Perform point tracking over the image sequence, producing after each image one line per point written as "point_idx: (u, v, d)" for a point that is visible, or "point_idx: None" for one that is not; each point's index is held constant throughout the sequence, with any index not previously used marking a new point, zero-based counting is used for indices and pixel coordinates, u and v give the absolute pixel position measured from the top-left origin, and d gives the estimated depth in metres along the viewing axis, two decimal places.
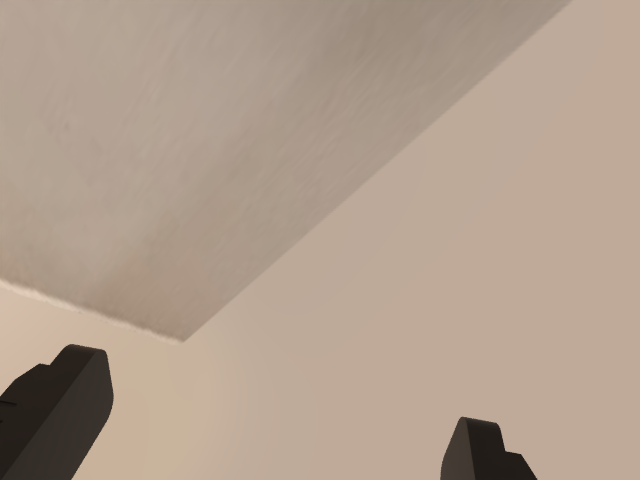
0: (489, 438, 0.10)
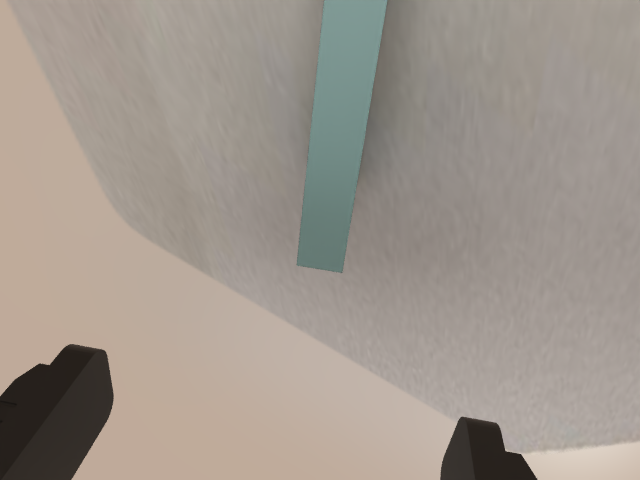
0: (489, 438, 0.10)
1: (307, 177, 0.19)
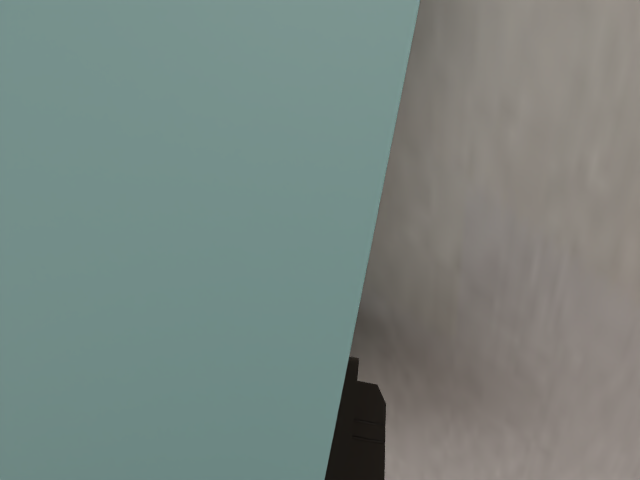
0: None
1: None
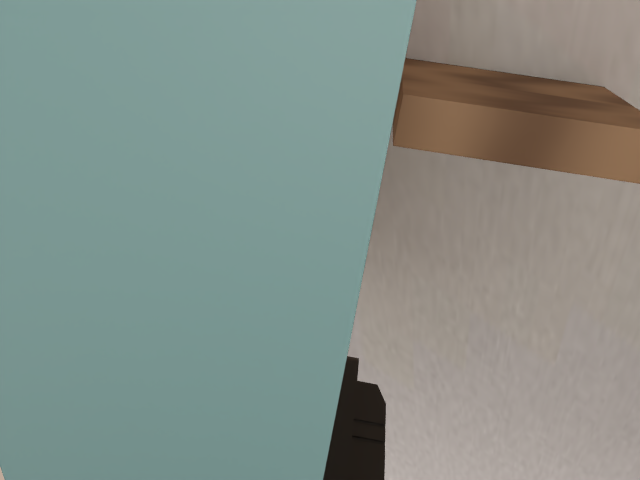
0: (345, 368, 0.11)
1: None
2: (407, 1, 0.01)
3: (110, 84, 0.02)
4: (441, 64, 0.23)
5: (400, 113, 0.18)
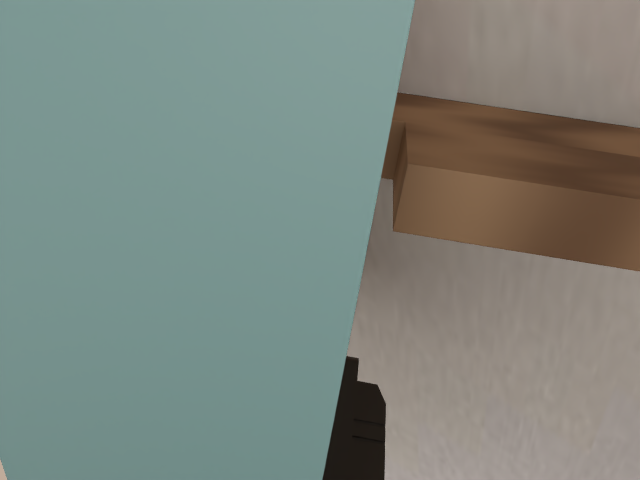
0: (345, 368, 0.11)
1: None
2: (403, 17, 0.02)
3: (114, 96, 0.02)
4: (456, 103, 0.18)
5: (403, 189, 0.13)
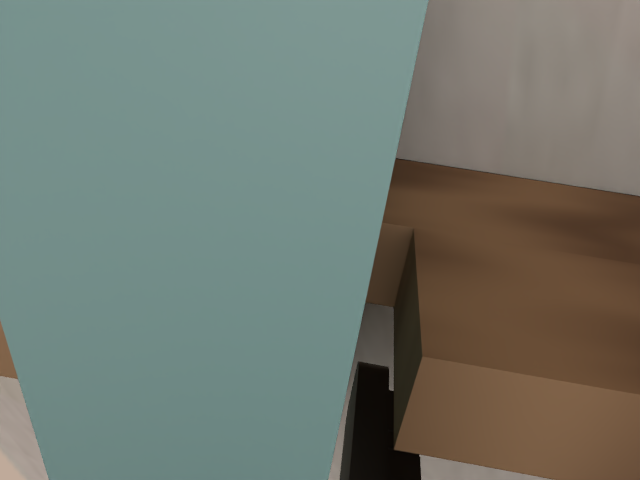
0: (376, 378, 0.11)
1: None
2: (401, 96, 0.02)
3: (155, 153, 0.02)
4: (487, 176, 0.12)
5: (413, 392, 0.07)
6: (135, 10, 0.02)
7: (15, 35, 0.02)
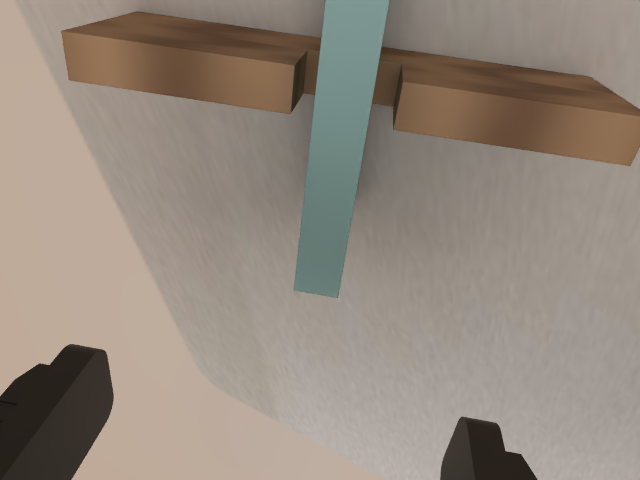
0: (489, 438, 0.10)
1: (304, 208, 0.19)
2: None
3: None
4: (438, 56, 0.25)
5: (400, 99, 0.20)
6: None
7: None
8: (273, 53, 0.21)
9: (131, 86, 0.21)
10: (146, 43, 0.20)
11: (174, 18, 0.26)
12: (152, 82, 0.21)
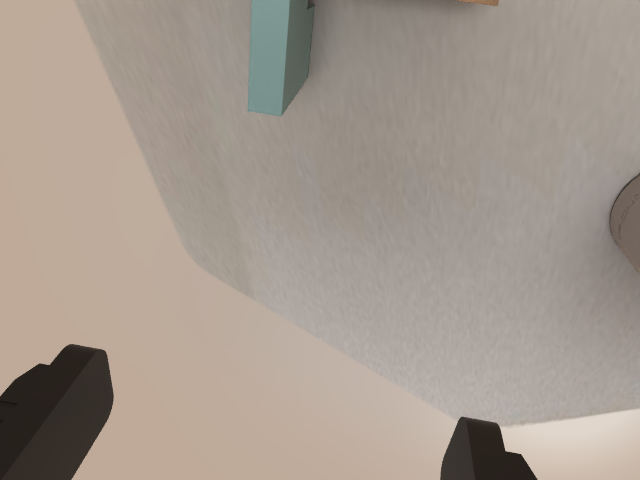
0: (489, 438, 0.10)
1: (251, 34, 0.26)
2: None
3: None
4: None
5: None
6: None
7: None
8: None
9: None
10: None
11: None
12: None
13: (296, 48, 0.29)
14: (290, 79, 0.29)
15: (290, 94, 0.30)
